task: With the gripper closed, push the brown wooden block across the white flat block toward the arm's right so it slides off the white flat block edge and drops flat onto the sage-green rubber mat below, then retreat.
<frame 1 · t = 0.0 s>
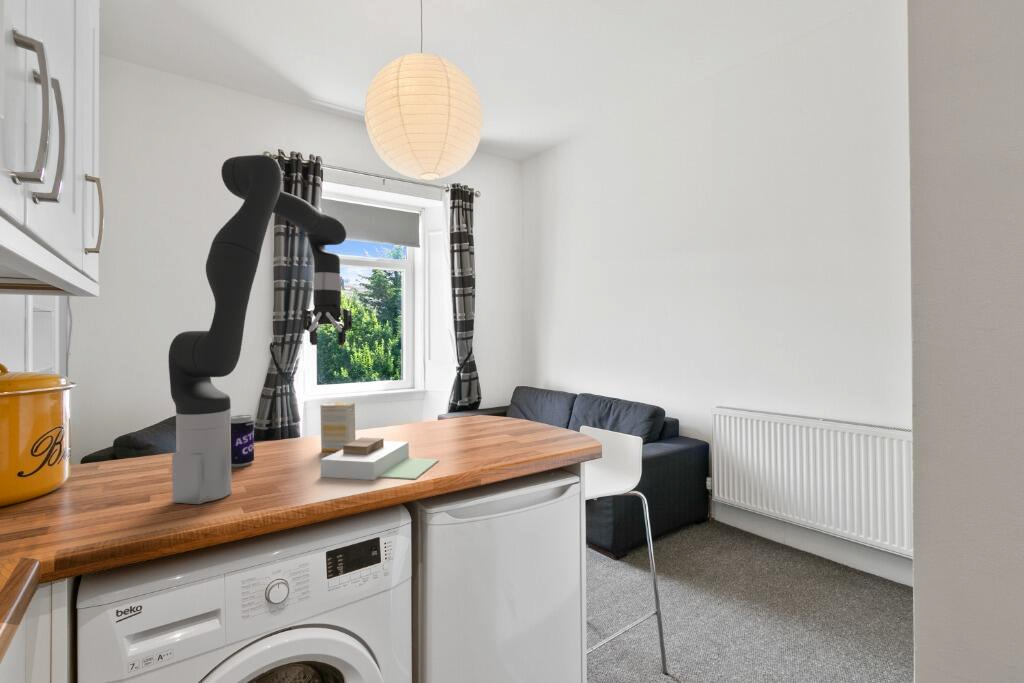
hand: (327, 345, 141), 29 cm above the counter, fingers open, 8 cm apart
mat: (410, 468, 117), on the counter
white flat block: (367, 466, 119), on the counter
supplement box: (338, 450, 135), on the counter
brown wooden block: (364, 449, 119), point 4 cm above the counter, touching white flat block
beverage can: (241, 465, 120), on the counter
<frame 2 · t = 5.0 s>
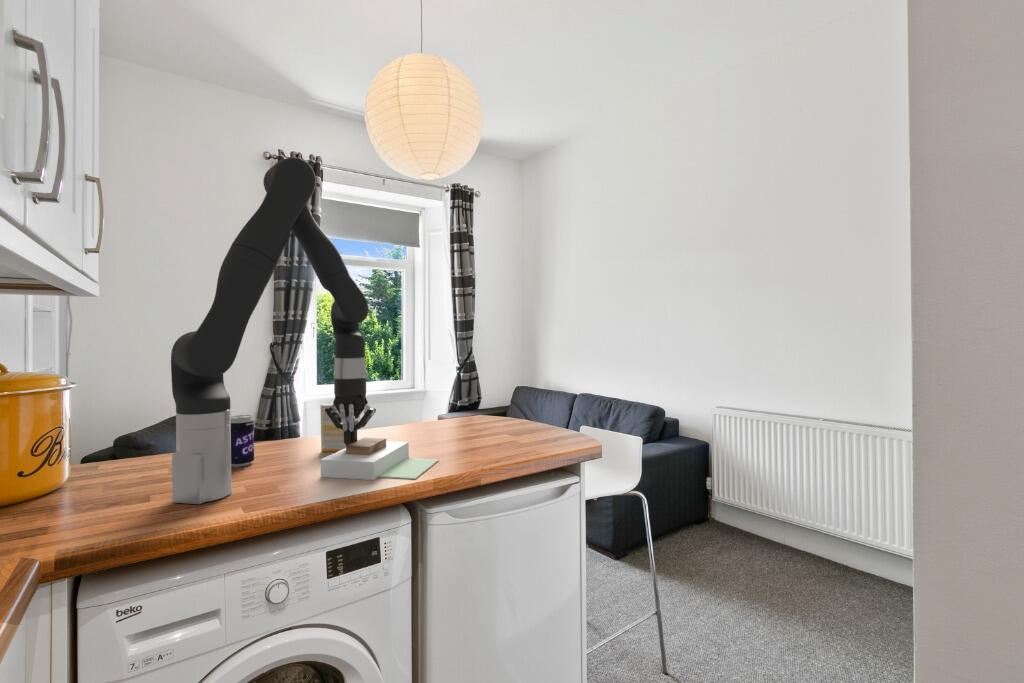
hand: (350, 445, 119), 5 cm above the counter, fingers closed
brown wooden block: (366, 450, 118), point 4 cm above the counter, touching white flat block, gripper
everything else where it was.
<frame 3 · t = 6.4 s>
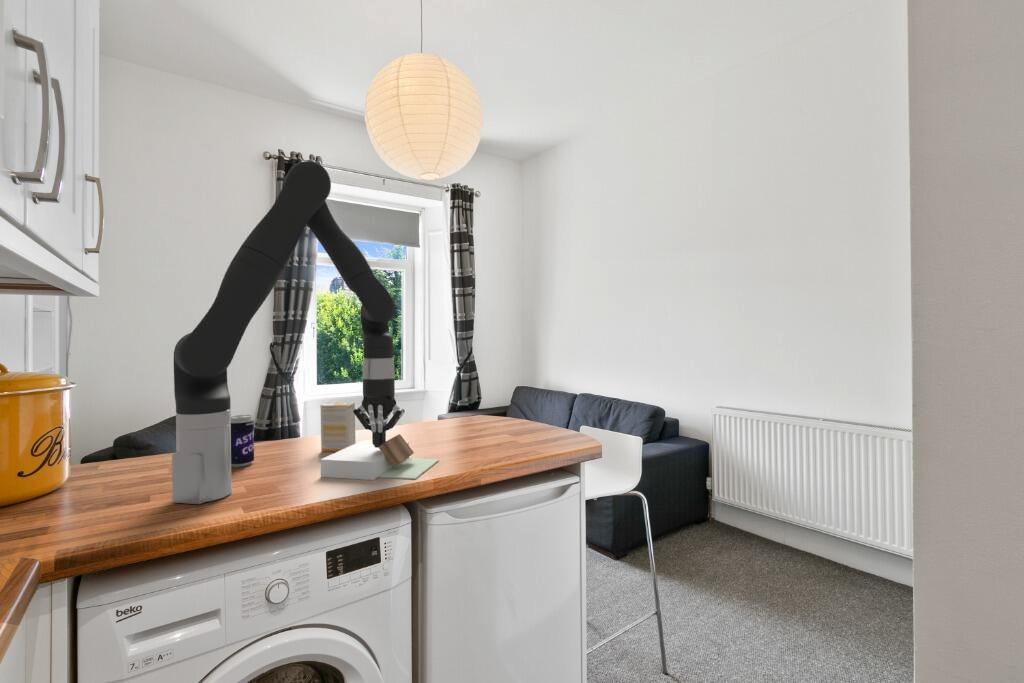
hand: (379, 446, 118), 5 cm above the counter, fingers closed
brown wooden block: (393, 452, 117), point 4 cm above the counter, tilted 51°
everything else where it was.
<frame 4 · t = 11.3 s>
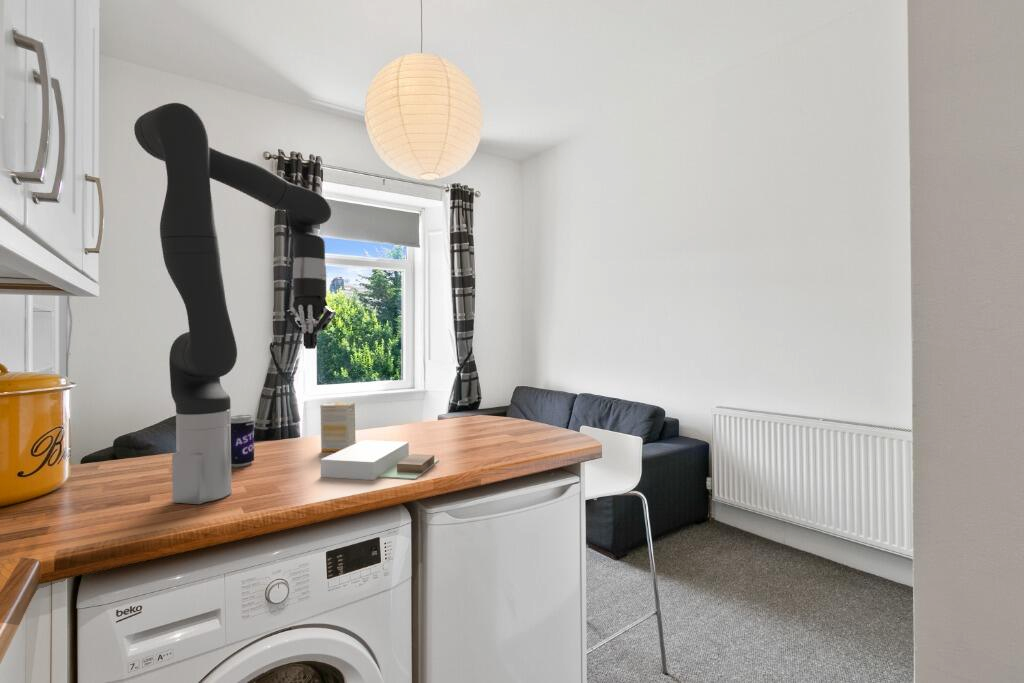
hand: (310, 348, 119), 29 cm above the counter, fingers closed
brown wooden block: (416, 459, 116), point 2 cm above the counter, tilted 180°, touching mat
everything else where it was.
at the end: brown wooden block point 2.3 cm above the counter; brown wooden block inside the target area (1.3 cm from its centre), point 2.3 cm above the counter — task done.
